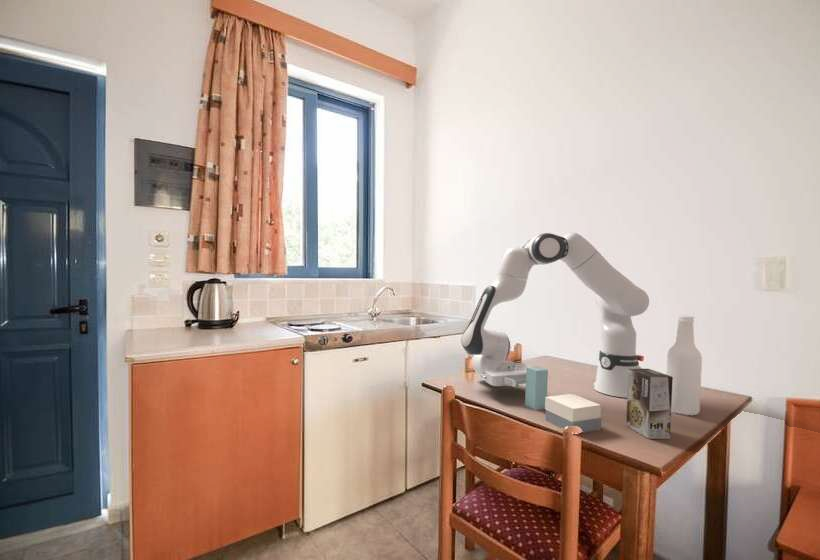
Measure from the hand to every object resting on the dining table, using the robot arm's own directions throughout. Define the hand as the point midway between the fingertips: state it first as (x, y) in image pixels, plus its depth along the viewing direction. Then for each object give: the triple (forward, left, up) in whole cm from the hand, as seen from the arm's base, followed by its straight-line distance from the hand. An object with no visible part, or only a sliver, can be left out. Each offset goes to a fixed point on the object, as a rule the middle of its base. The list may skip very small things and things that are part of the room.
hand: (528, 383), depth 122 cm
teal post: (0, +4, -6) cm, 7 cm away
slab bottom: (0, +19, -7) cm, 20 cm away
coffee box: (-16, +29, -7) cm, 33 cm away
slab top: (0, +18, -3) cm, 18 cm away
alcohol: (-43, +21, -7) cm, 48 cm away
